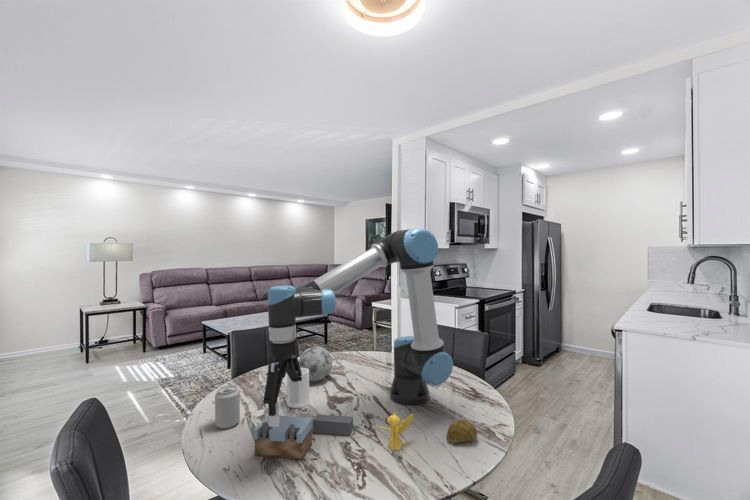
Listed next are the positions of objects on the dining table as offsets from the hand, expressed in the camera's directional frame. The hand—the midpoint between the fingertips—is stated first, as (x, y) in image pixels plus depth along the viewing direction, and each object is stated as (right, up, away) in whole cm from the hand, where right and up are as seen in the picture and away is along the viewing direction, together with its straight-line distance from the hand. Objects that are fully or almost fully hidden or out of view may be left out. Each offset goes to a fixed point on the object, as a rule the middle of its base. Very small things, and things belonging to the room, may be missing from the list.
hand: (285, 413), depth 98 cm
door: (0, -5, 0) cm, 5 cm away
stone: (0, -11, +52) cm, 54 cm away
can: (-23, -11, +15) cm, 29 cm away
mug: (-3, -11, +29) cm, 31 cm away
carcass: (0, -10, 0) cm, 10 cm away
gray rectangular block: (+13, -10, +10) cm, 19 cm away
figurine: (+30, -10, +3) cm, 31 cm away
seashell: (+52, -10, +4) cm, 53 cm away
